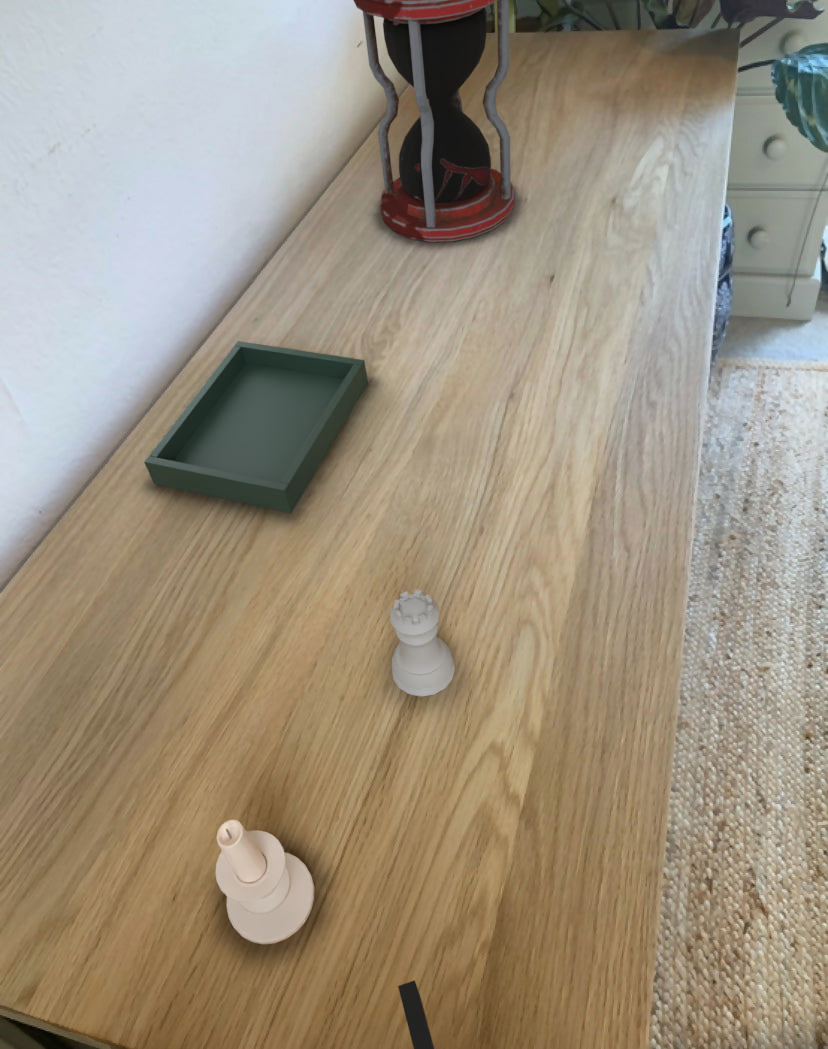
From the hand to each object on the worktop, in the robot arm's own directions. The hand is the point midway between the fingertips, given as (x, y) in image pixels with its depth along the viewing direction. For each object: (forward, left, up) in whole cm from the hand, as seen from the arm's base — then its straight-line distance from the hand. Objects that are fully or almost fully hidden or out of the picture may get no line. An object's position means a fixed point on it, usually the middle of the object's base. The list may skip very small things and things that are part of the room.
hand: (259, 1042), depth 37 cm
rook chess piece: (+11, +23, -10) cm, 27 cm away
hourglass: (+27, +86, -10) cm, 91 cm away
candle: (-1, +10, -10) cm, 14 cm away
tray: (+2, +52, -10) cm, 53 cm away
